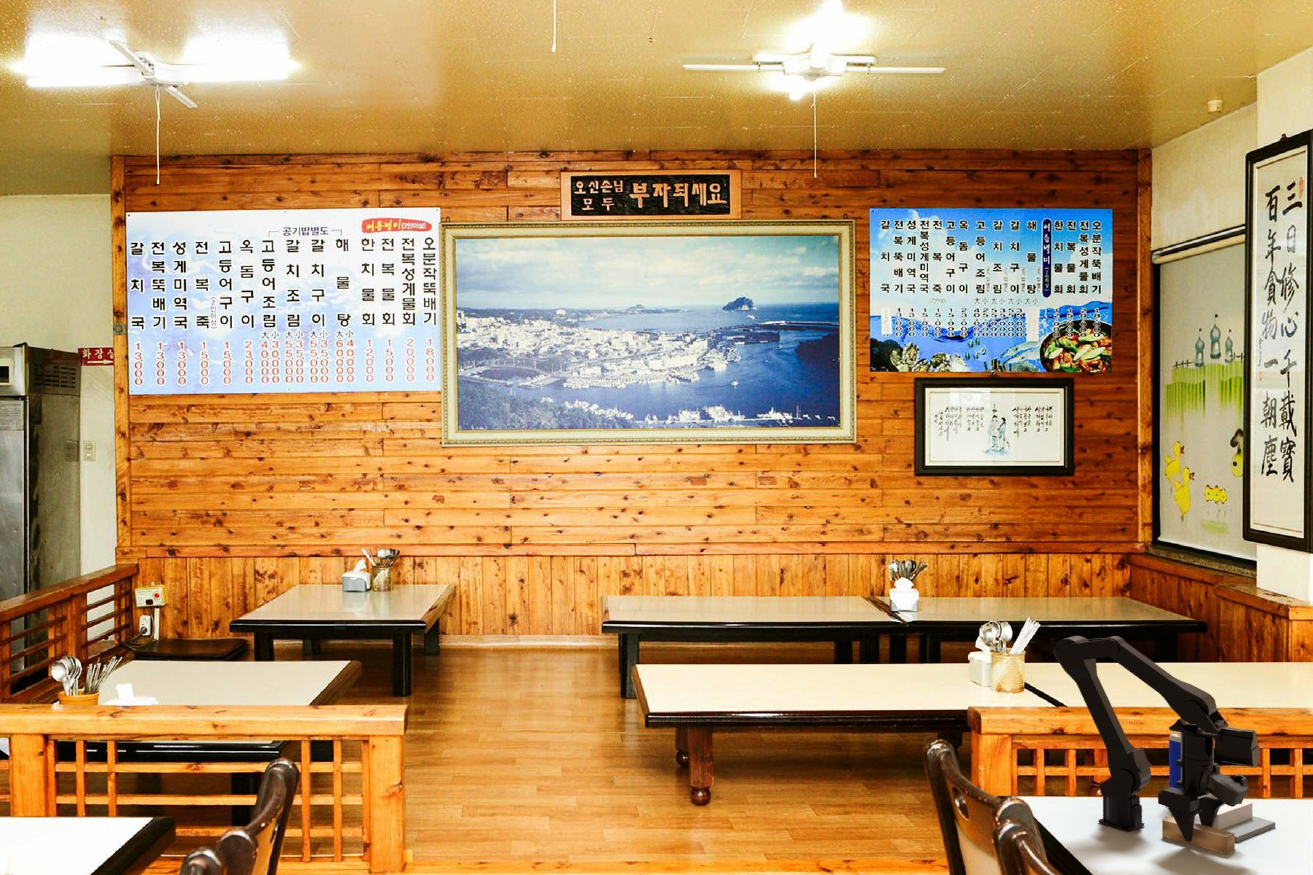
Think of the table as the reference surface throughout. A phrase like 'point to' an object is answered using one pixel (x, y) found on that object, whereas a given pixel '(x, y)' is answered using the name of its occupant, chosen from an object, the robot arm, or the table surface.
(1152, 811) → the table surface
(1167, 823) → the oak bar
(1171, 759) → the beverage can
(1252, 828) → the stand
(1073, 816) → the table surface
